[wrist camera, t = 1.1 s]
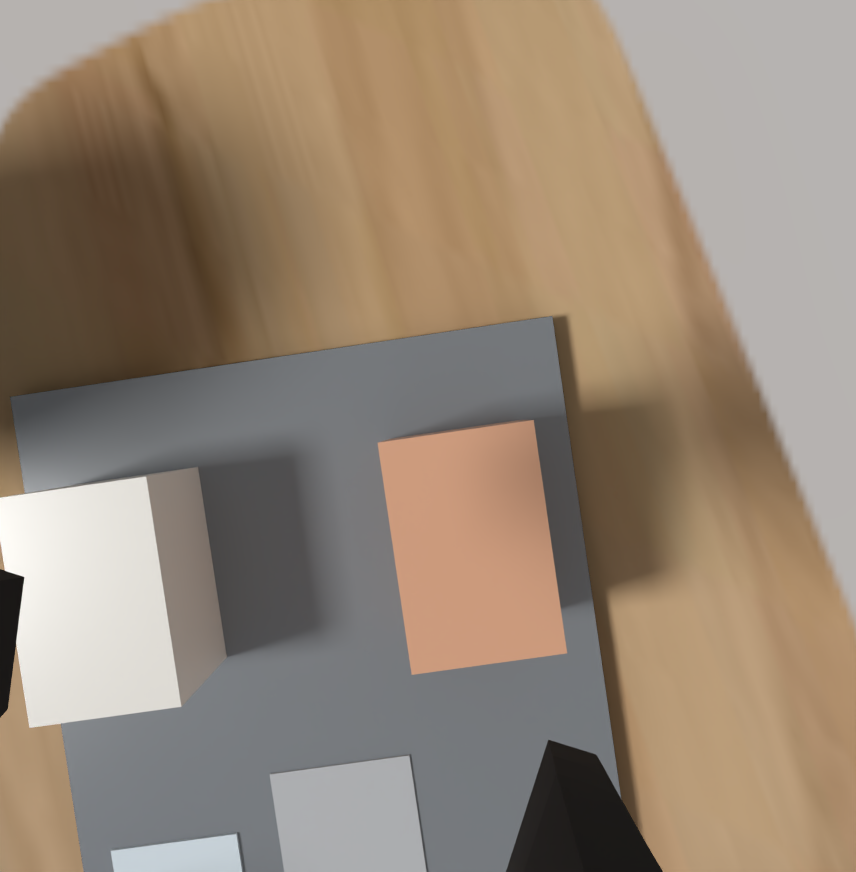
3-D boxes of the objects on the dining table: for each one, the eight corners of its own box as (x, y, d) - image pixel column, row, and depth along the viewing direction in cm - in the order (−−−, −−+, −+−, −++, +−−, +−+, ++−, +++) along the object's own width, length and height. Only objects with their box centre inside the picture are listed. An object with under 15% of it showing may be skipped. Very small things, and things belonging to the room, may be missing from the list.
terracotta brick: (417, 630, 23) (411, 674, 19) (389, 439, 23) (377, 442, 19) (545, 612, 23) (567, 653, 19) (517, 420, 23) (533, 419, 19)
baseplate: (115, 1008, 24) (105, 1027, 23) (21, 397, 24) (7, 396, 23) (638, 941, 24) (644, 958, 23) (549, 319, 23) (552, 315, 22)
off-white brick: (101, 674, 23) (29, 727, 19) (71, 485, 23) (-6, 498, 19) (226, 657, 23) (181, 706, 19) (198, 466, 23) (146, 476, 19)
